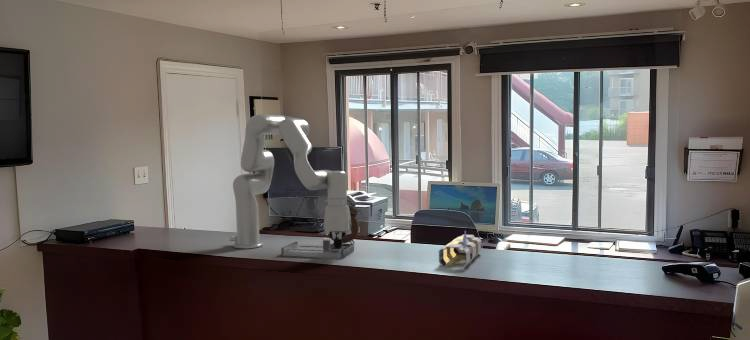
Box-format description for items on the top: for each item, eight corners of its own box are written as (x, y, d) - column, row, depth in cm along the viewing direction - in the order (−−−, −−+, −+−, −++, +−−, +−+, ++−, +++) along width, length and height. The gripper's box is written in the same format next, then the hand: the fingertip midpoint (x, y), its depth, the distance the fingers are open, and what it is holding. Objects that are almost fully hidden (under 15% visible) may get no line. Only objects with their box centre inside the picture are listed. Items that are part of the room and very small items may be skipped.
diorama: (467, 269, 194) (466, 232, 194) (438, 267, 198) (438, 231, 197) (481, 255, 217) (481, 222, 217) (455, 253, 221) (455, 221, 221)
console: (281, 256, 220) (281, 248, 220) (295, 249, 233) (295, 241, 233) (343, 258, 213) (343, 250, 213) (354, 251, 227) (353, 243, 226)
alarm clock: (360, 242, 244) (359, 198, 243) (358, 246, 237) (357, 200, 236) (328, 242, 246) (327, 198, 245) (325, 246, 239) (324, 200, 237)
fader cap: (323, 250, 218) (322, 238, 218) (324, 249, 220) (324, 238, 219) (329, 250, 217) (328, 239, 217) (330, 249, 219) (330, 238, 219)
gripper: (316, 203, 214) (317, 249, 215) (352, 203, 211) (353, 251, 212) (322, 201, 222) (323, 246, 223) (358, 201, 218) (359, 247, 219)
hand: (338, 248), depth 217 cm, fingers closed
